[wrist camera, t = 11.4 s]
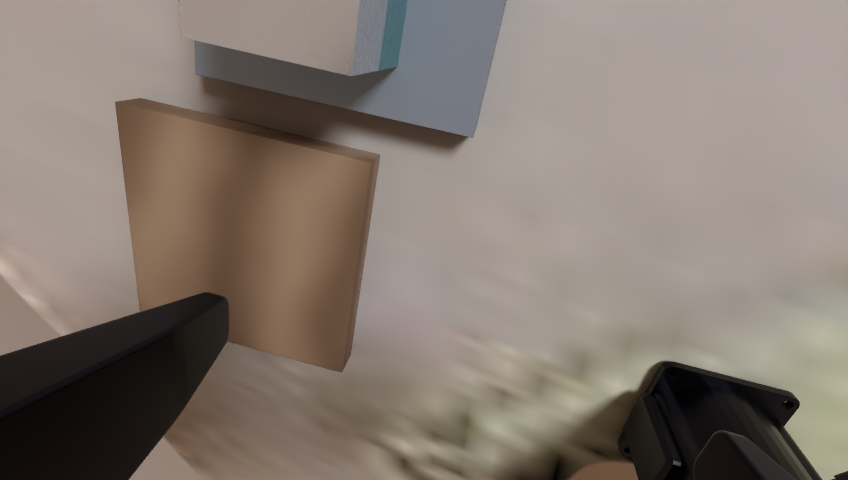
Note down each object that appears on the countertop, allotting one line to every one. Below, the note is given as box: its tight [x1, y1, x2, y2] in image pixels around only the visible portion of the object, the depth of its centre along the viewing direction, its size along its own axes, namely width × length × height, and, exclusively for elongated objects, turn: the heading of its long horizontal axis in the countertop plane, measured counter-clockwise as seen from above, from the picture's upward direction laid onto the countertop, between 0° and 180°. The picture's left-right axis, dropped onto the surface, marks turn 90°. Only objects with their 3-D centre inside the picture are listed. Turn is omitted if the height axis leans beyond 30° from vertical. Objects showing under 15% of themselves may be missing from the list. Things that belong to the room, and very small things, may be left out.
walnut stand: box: [115, 98, 380, 373], centre depth 22 cm, size 12×12×2 cm
